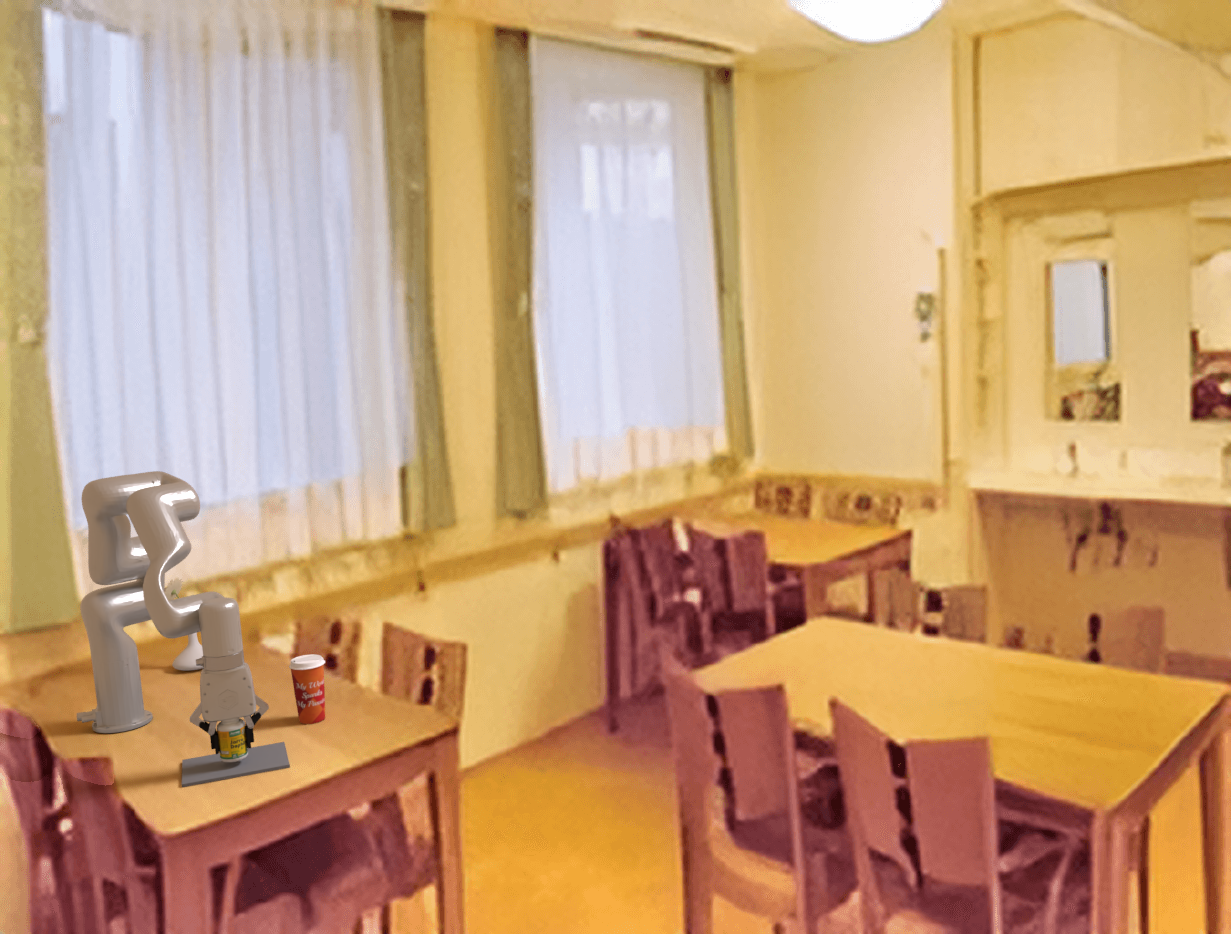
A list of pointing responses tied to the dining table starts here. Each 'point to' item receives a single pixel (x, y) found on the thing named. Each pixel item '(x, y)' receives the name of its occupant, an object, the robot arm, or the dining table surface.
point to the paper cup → (309, 687)
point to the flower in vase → (194, 648)
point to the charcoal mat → (234, 765)
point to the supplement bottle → (232, 740)
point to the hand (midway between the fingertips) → (233, 748)
